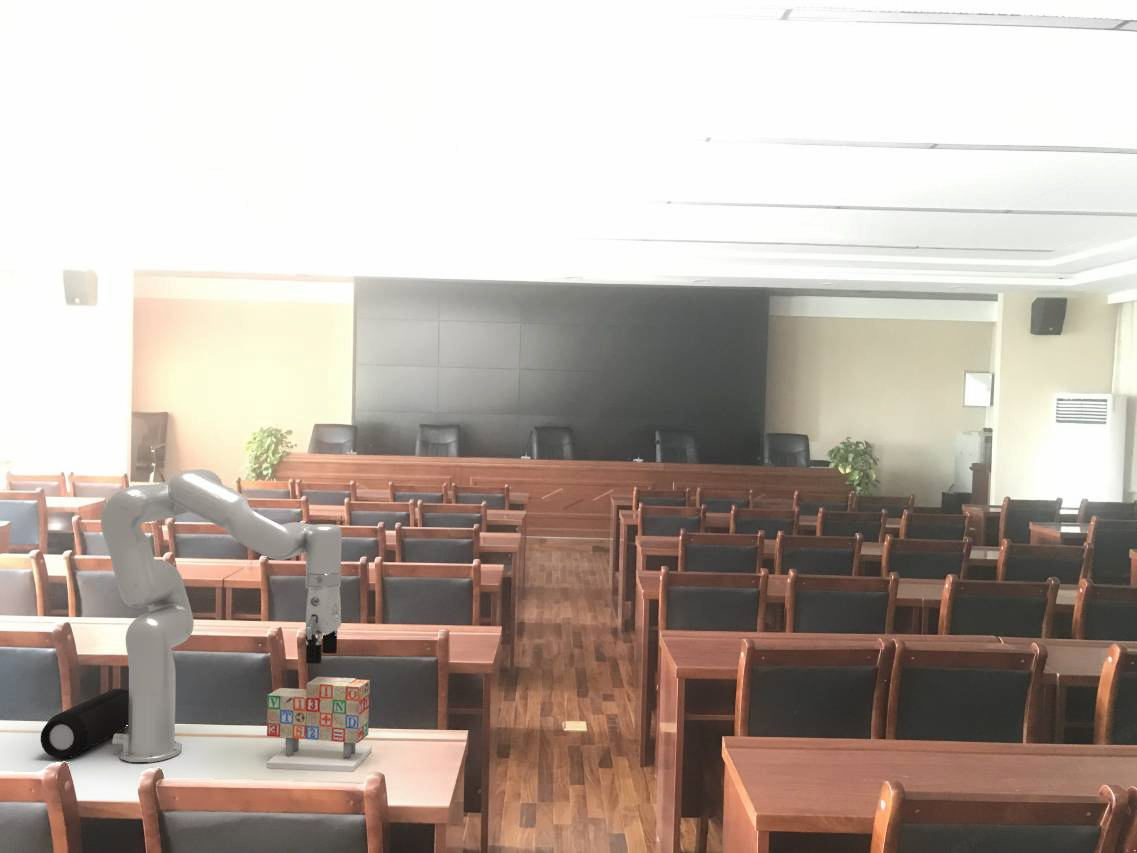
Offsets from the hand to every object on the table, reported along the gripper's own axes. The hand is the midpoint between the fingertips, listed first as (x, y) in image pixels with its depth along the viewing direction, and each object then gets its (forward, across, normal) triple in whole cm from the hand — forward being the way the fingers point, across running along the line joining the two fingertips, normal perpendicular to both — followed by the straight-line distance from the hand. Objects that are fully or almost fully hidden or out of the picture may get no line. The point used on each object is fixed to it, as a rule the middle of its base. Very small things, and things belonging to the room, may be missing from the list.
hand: (321, 658), depth 204 cm
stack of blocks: (+17, 0, 0) cm, 17 cm away
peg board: (+22, 0, 0) cm, 22 cm away
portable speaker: (+23, +5, +56) cm, 60 cm away
